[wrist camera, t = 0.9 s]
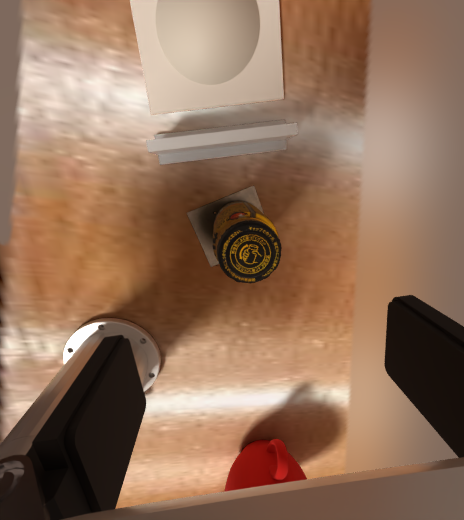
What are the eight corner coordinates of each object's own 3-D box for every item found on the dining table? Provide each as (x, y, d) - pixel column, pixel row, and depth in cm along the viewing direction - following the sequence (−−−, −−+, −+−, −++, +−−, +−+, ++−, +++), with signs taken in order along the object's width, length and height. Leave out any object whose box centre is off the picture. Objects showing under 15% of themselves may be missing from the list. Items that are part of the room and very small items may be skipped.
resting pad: (283, 99, 29) (284, 98, 29) (151, 115, 29) (150, 114, 28) (274, -75, 25) (275, -80, 24) (119, -58, 25) (118, -62, 24)
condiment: (274, 241, 34) (302, 276, 22) (210, 266, 34) (207, 313, 23) (253, 185, 32) (274, 192, 20) (186, 212, 32) (169, 234, 21)
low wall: (285, 149, 31) (297, 145, 26) (160, 164, 30) (150, 163, 26) (283, 120, 30) (296, 110, 25) (155, 135, 30) (143, 128, 25)
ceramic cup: (312, 406, 42) (340, 475, 33) (292, 483, 47) (310, 562, 38) (229, 401, 41) (233, 470, 32) (217, 481, 46) (217, 561, 37)
